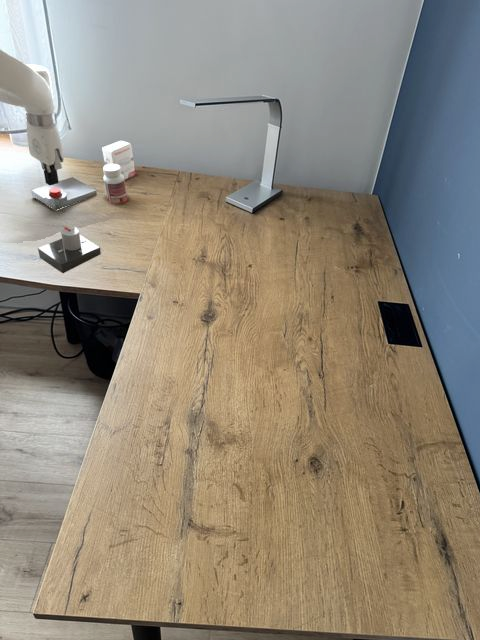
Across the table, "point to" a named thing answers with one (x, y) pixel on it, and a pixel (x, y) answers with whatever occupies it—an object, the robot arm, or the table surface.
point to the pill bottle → (114, 184)
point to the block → (64, 193)
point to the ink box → (120, 157)
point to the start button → (55, 192)
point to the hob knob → (71, 238)
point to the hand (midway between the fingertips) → (52, 183)
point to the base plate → (68, 254)
